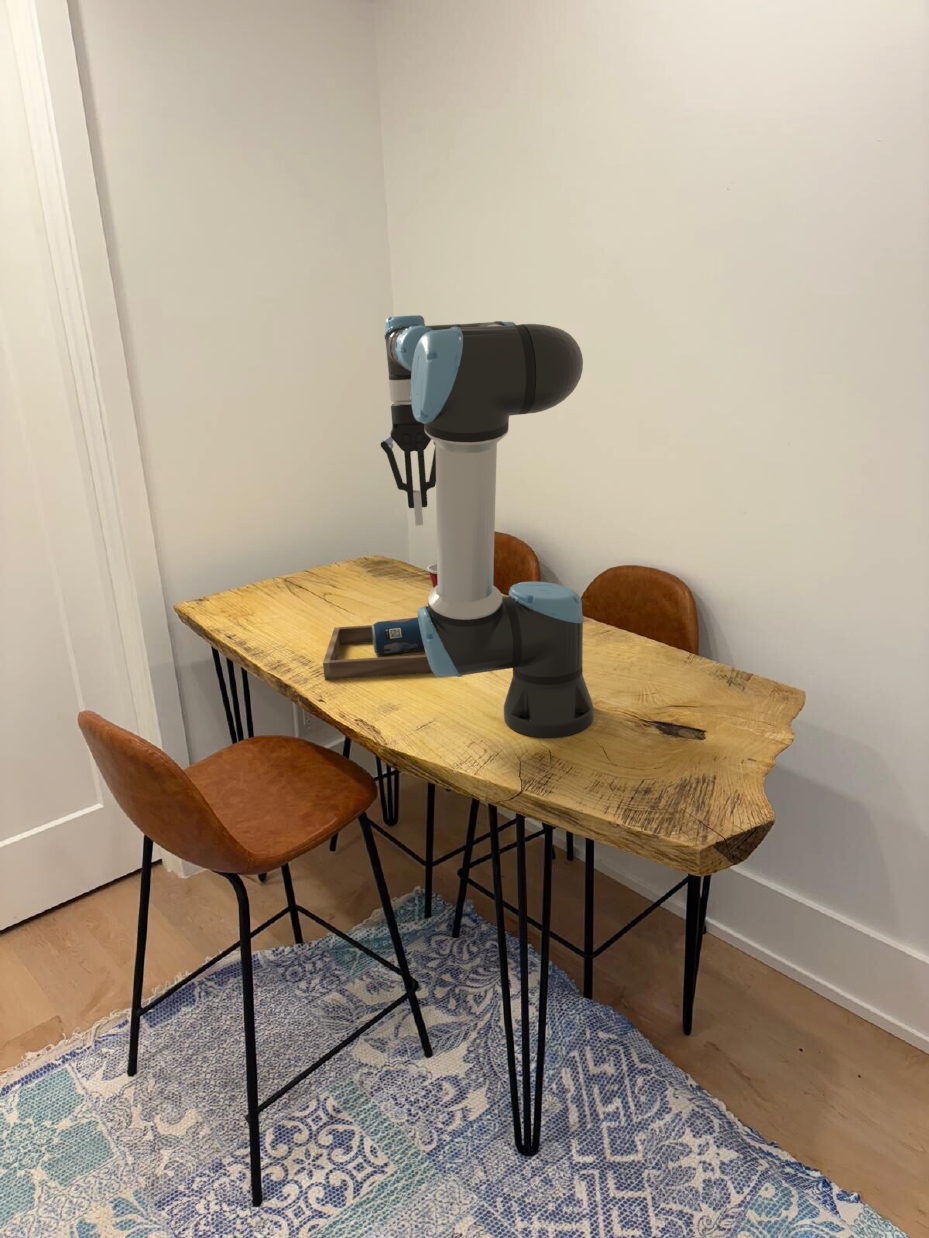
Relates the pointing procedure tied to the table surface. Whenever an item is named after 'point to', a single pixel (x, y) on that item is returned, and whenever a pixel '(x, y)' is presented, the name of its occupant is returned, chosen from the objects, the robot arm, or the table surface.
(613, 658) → the table surface
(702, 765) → the table surface
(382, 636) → the soda can
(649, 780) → the table surface
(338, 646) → the walnut tray frame
